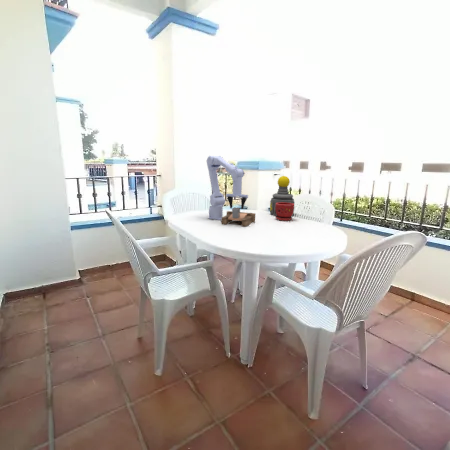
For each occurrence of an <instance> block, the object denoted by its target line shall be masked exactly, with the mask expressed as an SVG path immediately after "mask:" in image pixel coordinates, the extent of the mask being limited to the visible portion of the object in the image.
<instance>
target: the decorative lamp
mask: <svg viewBox="0 0 450 450" xmlns="http://www.w3.org/2000/svg"><path fill="white" fill-rule="evenodd" d="M290 183H291V182H290V179H289V177H288V176H286V175H281V176H279V178H278V179H277V185H278V189H277V192H276V193H273V194H272V197H271V198H270V199H271V200H270V201H269V213H270V215H271V216H274V217H276V216H277V214H276V210H275V206H276V203H279V202H284V203H293V204H294V205H295V199H294V195H293V194H292V193H289V189H288V187H289V185H290ZM283 210H284V209H283ZM286 210H287V208H286ZM289 211H290V210H289ZM294 212H295V210H294V211H293V214H292V216H293V215H294Z"/></svg>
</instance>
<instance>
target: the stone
mask: <svg viewBox="0 0 450 450" xmlns="http://www.w3.org/2000/svg"><path fill="white" fill-rule="evenodd" d="M231 211H232V217H233V218H239V217H240V212H241V208H240V207H232V208H231Z"/></svg>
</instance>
